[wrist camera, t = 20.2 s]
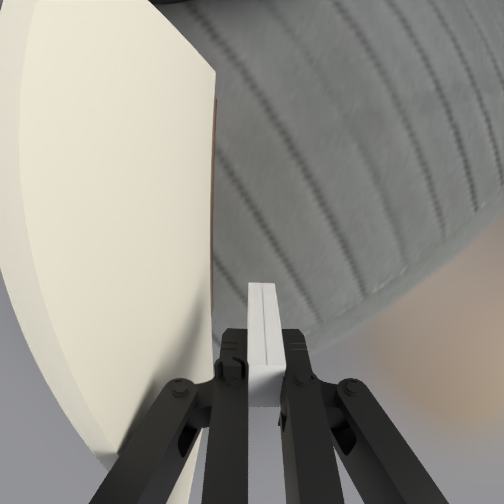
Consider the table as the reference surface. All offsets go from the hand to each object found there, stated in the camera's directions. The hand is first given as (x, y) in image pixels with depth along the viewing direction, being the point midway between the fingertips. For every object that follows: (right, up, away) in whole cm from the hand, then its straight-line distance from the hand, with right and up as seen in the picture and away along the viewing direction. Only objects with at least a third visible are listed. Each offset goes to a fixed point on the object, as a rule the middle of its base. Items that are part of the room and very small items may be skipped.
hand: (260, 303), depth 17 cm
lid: (-5, 0, -2) cm, 6 cm away
